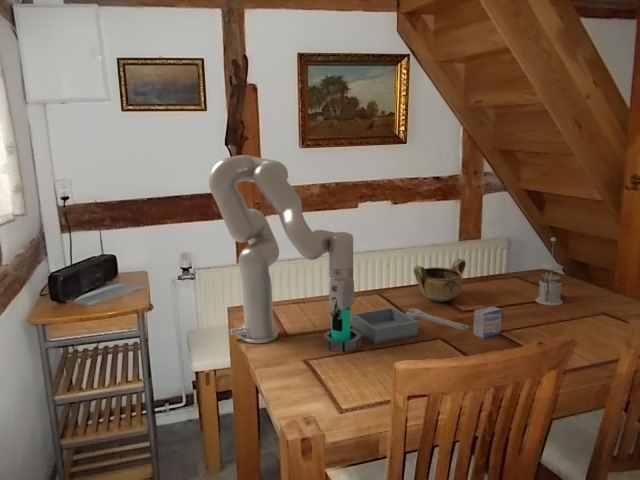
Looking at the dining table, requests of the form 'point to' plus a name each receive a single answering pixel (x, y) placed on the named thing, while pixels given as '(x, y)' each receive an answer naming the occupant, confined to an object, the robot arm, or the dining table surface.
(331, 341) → the collar
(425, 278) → the ceramic bowl
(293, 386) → the dining table surface
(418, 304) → the dining table surface
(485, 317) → the medicine box
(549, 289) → the french press
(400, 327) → the bin
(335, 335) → the candle
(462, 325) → the adjustable wrench
